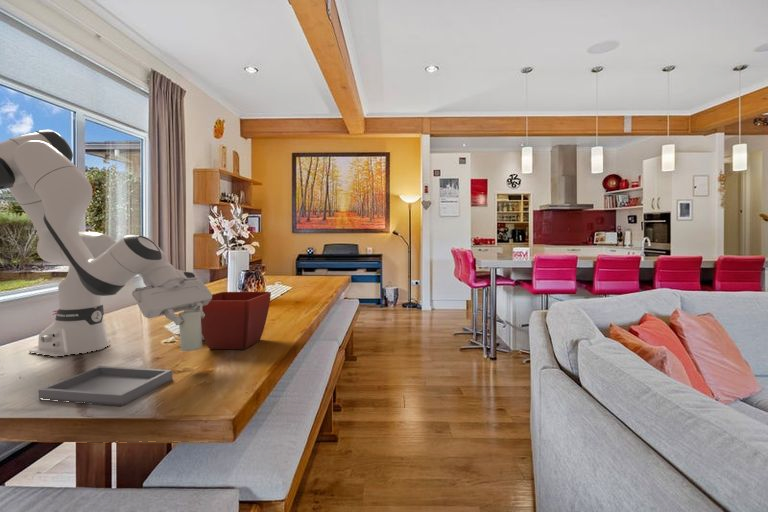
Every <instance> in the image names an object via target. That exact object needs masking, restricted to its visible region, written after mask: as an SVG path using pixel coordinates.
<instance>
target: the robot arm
mask: <svg viewBox="0 0 768 512" xmlns="http://www.w3.org/2000/svg"><path fill="white" fill-rule="evenodd" d="M73 156H74V154H73V151H72V149H71V146H70V145H69V143H68V142H67V140H65V139H64V138H63V136H62V135H61V134H59V133H58V132H56V131H54V130H52V129H43V130H36V131H35V132H33V133H27V134H22V135H18V136H14V137H10V138H8V139H7V140H4V141H1V142H0V190H7V189H8V190H9V191H10V193H11V194H12V196H13V198H14V199H15V200H16V202H17V204H18V205H19V206H20V208H21V209H22V210H23V211H24V213H25V215H26V216H27V217H28V219H29V220H30V222H31V223H32V224H33V226H34V228H35V229H36V230H35V231H36V232H37V236H38V241H37V244H36V252H37V255H38V256H39V258H40V259H42V260H43V261H45V262H47V263H50V264H53V265H54V264H55V265H58V266H59V265H60V266H69V267H68V271H67V274H66V277H65V278H64V279H63V280H61V281H60V282H59V284H58V287H57V288H58V289H57V290H58V304H59V308H58V309H57V310H53V311H52V316H54V315H56V316H55V320H54V321H53V322H52V323H51V324H49V325H48V326H47V327H46V328H44V329H43V330H42V331H41V332H40V333H39V335H38V339H37V340H38V346H35V347H33V348H30V349H28V353H29V352H34V353H39V354H45V355H51V356H63V355H68V356H71V355H70V354H75V355H80V354H79V353H82V354H88V353H92V352H91V351H93V352H96V350H97V351H99V350H103V349H106V348H108V347H109V346H110V345H111V343H110V338H109V336H108V332H107V327H106V322H105V319H104V314H105V312H104V311H105V307H104V305H103V304H102V297H103V296H104V297H105V296H106V297H107V296H108V297H109V296H114V295H117V294H118V293H119V292H120V291H121V290H122V289H123V288H124V287H125V286H126V284H128V283H129V282H130V281H131V280H133V279H134V278H135V277H136V276H138V275H139V276H140V277H141V279H142V281H143V285H145V286H143V287H137V288H135V289H133V291H132V297H133V298H134V300H135V301H136V303H137V306H138V308H139V310H140V312H141V315H143V317H145V318H146V319H153V318H157V317H161V316H165V319H166V318H167V319H168V320H170V321H172V322H174V325H176V326H179V325H180V324H182V323H183V322H184V319H183V318H182V317H181V316H179V315H177V314H176V313H177V312H179V313H180V312H184V310H188V309H192V308H194V310H197V311H200V312H201V319H203V318H204V317H205V314H204V312H203V311H202V306H205V305H208V303H209V302H210V301H211V299H212V295H213V294H212V292H211V291H210V289H209V288H208V287H207V285H205V283H204V282H203V281H201V279H198V278H199V276H198V275H197V272H192V271H186V270H181V269H176V267H175V266H173V264H171V263H170V262H169V258H168V256H167V255H166V254H165V252H164V251H163V250H162V249H161V248H160V246H159V245H158V244H157V243H155V241H153V239H151V238H149V237H147V236H144V235H143V236H142V235H137V234H126V235H124V236H122V237H121V238H119V239H118V240H117V241H116V240H115V239H114V238H113V237H112V236H111V235H109V234H105V233H101V232H97V231H79V228H80V227H79V226H80V223H81V221H82V218H83V216H84V215H85V214H86V211H87V210H88V208H89V207H90V204H91V202H92V199H93V186H92V184H91V182H90V181H89V179H88V178H87V177H86V175H85V174H83V172H82V171H81V170H80V169H79V168H78V167H77V166H76V165H75V164H74V163H73V162H72V160H73ZM107 346H108V347H107ZM105 347H106V348H105ZM87 352H88V353H87ZM63 357H64V356H63Z"/></svg>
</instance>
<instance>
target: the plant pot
mask: <svg viewBox="0 0 768 512" xmlns="http://www.w3.org/2000/svg"><path fill="white" fill-rule="evenodd" d="M271 296H272V292H271V291H220V292H217V293H214V294H212V299H211V301H210V302H209V303H208V305H205V306H202V311H203V312H204V314H205V317H204V318H203V319H201V328H202V335H203V337H204V339H205V340H204V341H205V343H206V346H207V347H208V349H211V350H245V349H247V348H249V347H250V346H252V345H254V344H255V343H257V342H259V341H260V340H261V339H262V335H263V332H264V330H265V325H266V322H267V318H268V314H269V309H270V303H271ZM194 311H197V310H194Z"/></svg>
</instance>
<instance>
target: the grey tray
mask: <svg viewBox="0 0 768 512" xmlns="http://www.w3.org/2000/svg"><path fill="white" fill-rule="evenodd" d="M171 381H173V369H158V368H146V367H145V368H142V367H141V368H140V367H126V366H125V367H121V366H109V365H107V366H105V365H99V366H96V367H94V368H90V369H88V370H86V371H83V372H80V373H78V374H76V375H73V376H70V377H67V378H65V379H63V380H59V381H58V382H54V383H52V384H50V385H47V386H44V387H42V388H39V389H38V391H37V392H38V399H39V398H43V399H50V400H58V401H69V402H83V403H84V402H85V403H92V404H91V405H95V404H101V405H100V406H110V407H123V406H126V405H127V404H129V403H131V402H133V401H135V400H136V399H138V398H141V397H143V396H144V395H146V394H148V393H150V392H152V391H153V390H155V389H157V388H159V387H162V386H163V385H165V384H167V383H168V382H171ZM69 402H68V403H69Z"/></svg>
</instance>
